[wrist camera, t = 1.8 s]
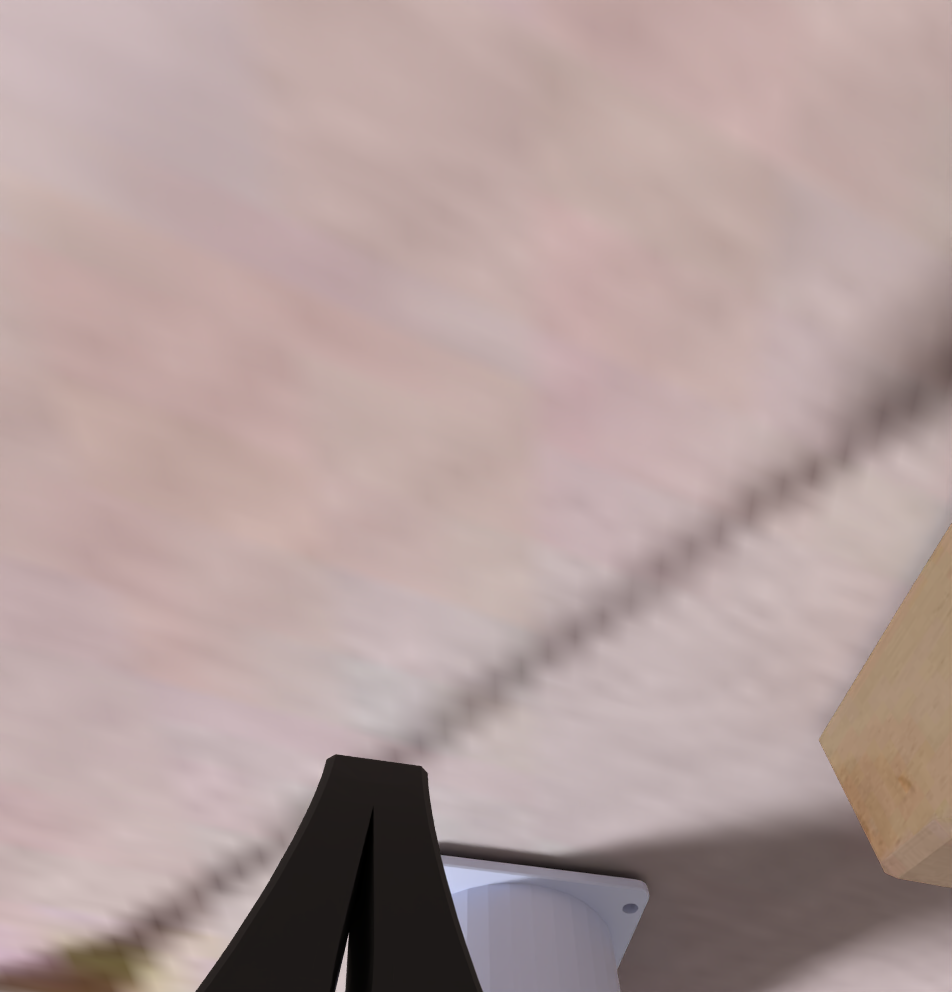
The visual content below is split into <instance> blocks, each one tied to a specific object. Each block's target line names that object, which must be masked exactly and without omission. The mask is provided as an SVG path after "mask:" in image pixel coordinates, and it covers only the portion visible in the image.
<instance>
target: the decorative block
mask: <svg viewBox="0 0 952 992" xmlns="http://www.w3.org/2000/svg"><path fill="white" fill-rule="evenodd" d="M819 742H820V744H821V746H822V748H823V750H824V752H825V754H826V756H827V758H828V760H829V762H830V764H831V766H832V768H833V770H834V772H835V774H836V776H837V778H838V780H839V782H840V784H841V786H842V788H843V790H844V792H845V794H846V796H847V798H848V800H849V802H850V804H851V806H852V808H853V810H854V812H855V814H856V816H857V818H858V820H859V822H860V824H861V826H862V828H863V830H864V832H865V834H866V836H867V838H868V840H869V842H870V844H871V846H872V848H873V850H874V852H875V854H876V856H877V858H878V860H879V862H880V864H881V866H882V868H883V870H884V872H885V873H886V874H888V875H891V876H893V877H895V878H898V879H903V880H908V881H914V882H920V883H926V884H931V885H937V886H943V887H948V888H952V523H951V525H950V527H949V528H948V530H947V531H946V533H945V535H944V536H943V538H942V539H941V541H940V543H939V544H938V546H937V548H936V549H935V551H934V552H933V554H932V556H931V557H930V559H929V560H928V562H927V564H926V565H925V567H924V569H923V570H922V572H921V573H920V575H919V577H918V578H917V580H916V581H915V583H914V585H913V586H912V588H911V589H910V591H909V593H908V594H907V596H906V598H905V599H904V601H903V602H902V604H901V606H900V607H899V609H898V610H897V612H896V614H895V615H894V617H893V619H892V620H891V622H890V624H889V625H888V627H887V629H886V630H885V632H884V633H883V635H882V637H881V638H880V640H879V642H878V643H877V645H876V647H875V648H874V650H873V652H872V653H871V655H870V656H869V658H868V660H867V661H866V663H865V665H864V666H863V668H862V670H861V671H860V673H859V674H858V676H857V678H856V679H855V681H854V683H853V684H852V686H851V688H850V689H849V691H848V693H847V694H846V696H845V697H844V699H843V701H842V702H841V704H840V706H839V707H838V709H837V711H836V712H835V714H834V716H833V717H832V719H831V720H830V722H829V724H828V725H827V727H826V729H825V730H824V732H823V734H822V735H821V737H820V738H819Z"/></svg>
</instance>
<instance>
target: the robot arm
mask: <svg viewBox="0 0 952 992" xmlns="http://www.w3.org/2000/svg"><path fill="white" fill-rule="evenodd" d="M648 900H649V891H648V887H647V885H646V884H645V883H644V882H643V881H640V880H637V879H630V878H622V877H614V876H606V875H598V874H590V873H582V872H574V871H566V870H558V869H550V868H542V867H534V866H526V865H518V864H510V863H502V862H494V861H486V860H478V859H470V858H462V857H454V856H446V855H441V854H440V850H439V845H438V840H437V836H436V831H435V826H434V821H433V816H432V809H431V803H430V796H429V787H428V773H427V772H426V771H425V770H424V769H423V768H422V766H416V765H409V764H402V763H394V762H387V761H380V760H373V759H365V758H358V757H351V756H344V755H334V756H332V757H330V758H328V759H327V760H326V764H325V767H324V771H323V774H322V777H321V779H320V782H319V785H318V787H317V790H316V792H315V795H314V797H313V799H312V801H311V804H310V806H309V808H308V810H307V812H306V814H305V816H304V818H303V820H302V822H301V824H300V826H299V828H298V830H297V832H296V834H295V836H294V838H293V840H292V842H291V843H290V845H289V847H288V849H287V851H286V852H285V854H284V856H283V858H282V859H281V861H280V863H279V865H278V867H277V868H276V870H275V872H274V874H273V875H272V877H271V879H270V881H269V882H268V884H267V886H266V887H265V889H264V891H263V892H262V894H261V896H260V897H259V899H258V900H257V902H256V903H255V905H254V906H253V908H252V910H251V911H250V913H249V914H248V916H247V917H246V919H245V920H244V922H243V923H242V925H241V927H240V928H239V930H238V931H237V933H236V934H235V936H234V937H233V939H232V941H231V942H230V944H229V945H228V947H227V948H226V949H225V951H224V952H223V954H222V955H221V957H220V958H219V960H218V961H217V962H216V964H215V965H214V967H213V968H212V970H211V971H210V972H209V974H208V975H207V977H206V978H205V979H204V981H203V982H202V984H201V985H200V986H199V988H198V989H197V990H196V992H335V990H336V986H337V981H338V977H339V973H340V968H341V964H342V960H343V956H344V951H345V947H346V943H347V938H348V934H349V941H348V957H347V974H346V990H345V992H620V985H619V979H618V973H617V969H618V967H619V965H620V962H621V960H622V958H623V956H624V953H625V951H626V949H627V947H628V945H629V942H630V940H631V938H632V936H633V934H634V931H635V929H636V927H637V925H638V922H639V920H640V918H641V916H642V914H643V911H644V909H645V907H646V905H647V902H648Z"/></svg>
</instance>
